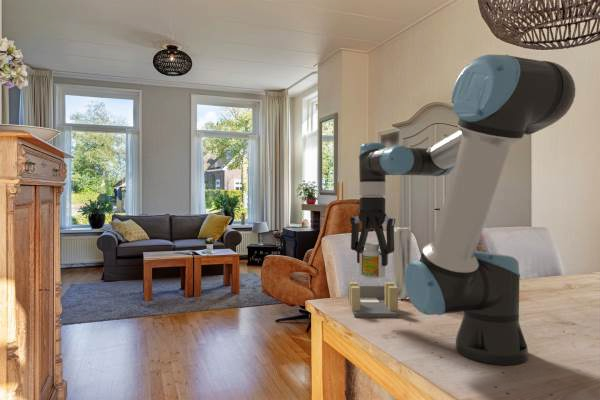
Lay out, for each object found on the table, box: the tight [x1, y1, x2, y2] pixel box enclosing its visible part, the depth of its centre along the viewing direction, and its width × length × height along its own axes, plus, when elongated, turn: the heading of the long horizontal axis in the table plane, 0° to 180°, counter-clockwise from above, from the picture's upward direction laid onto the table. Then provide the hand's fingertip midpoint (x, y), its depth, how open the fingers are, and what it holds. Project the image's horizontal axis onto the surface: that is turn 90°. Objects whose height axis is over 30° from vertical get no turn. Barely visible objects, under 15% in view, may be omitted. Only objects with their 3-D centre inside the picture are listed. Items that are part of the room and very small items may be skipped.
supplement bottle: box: [362, 242, 381, 279], centre depth 120 cm, size 5×5×10 cm
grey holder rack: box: [347, 281, 399, 318], centre depth 133 cm, size 20×14×8 cm
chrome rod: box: [392, 227, 412, 300], centre depth 146 cm, size 6×6×25 cm
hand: (372, 275), depth 120 cm, fingers closed on supplement bottle, 5 cm apart
